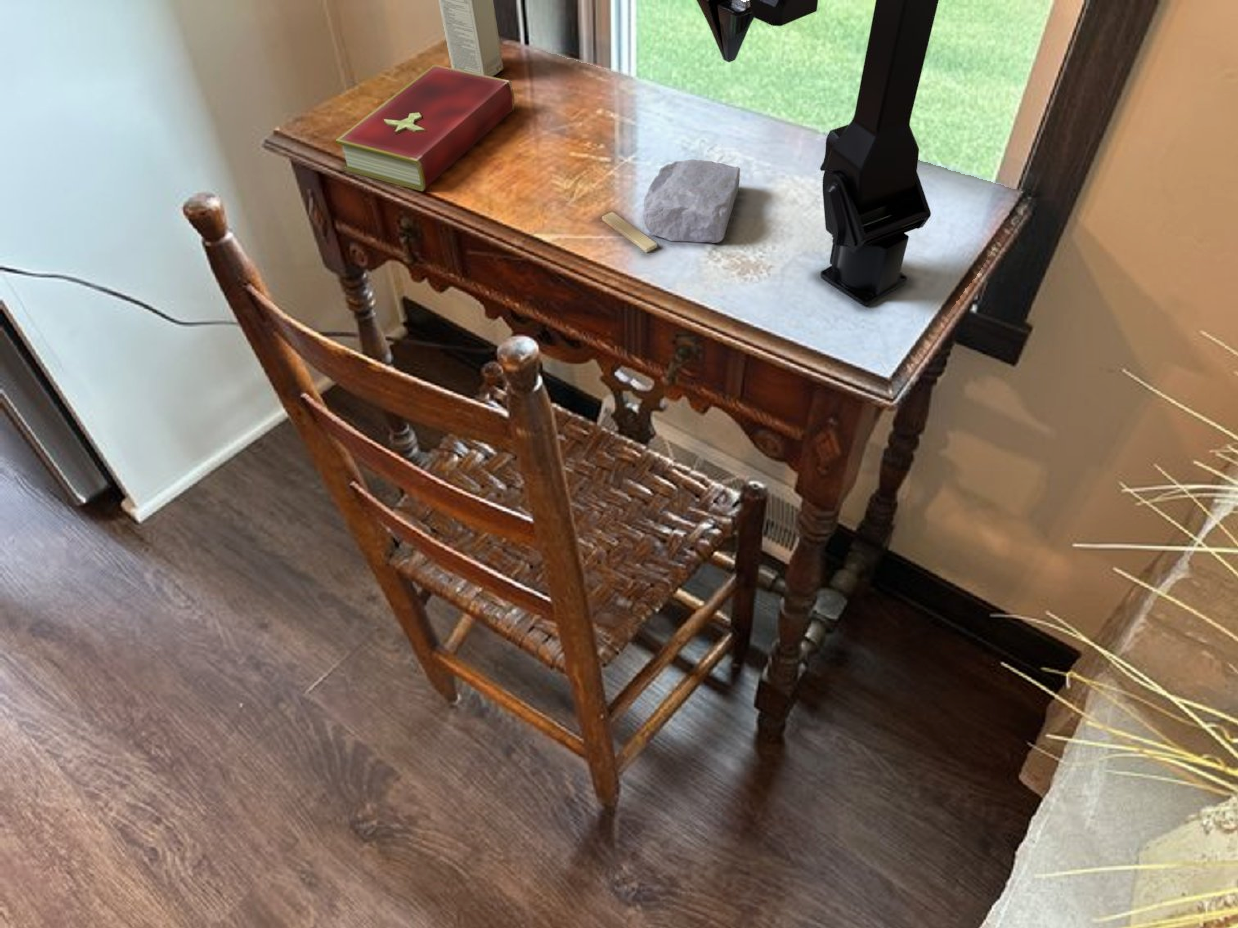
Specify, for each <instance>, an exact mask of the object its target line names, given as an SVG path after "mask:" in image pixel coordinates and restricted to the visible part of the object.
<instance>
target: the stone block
mask: <svg viewBox="0 0 1238 928" xmlns="http://www.w3.org/2000/svg"><path fill="white" fill-rule="evenodd" d="M740 177H741V168H740V167H739V166H732V165H729V164H725V163H721V162H715V161H711V160H703V159H694V158H691V159H686V160H679V161H678V160H677V161H674V162H672V163H669V164H665V165H664V166H663V167H661V168H659V170H658V175H656V177H654V179H652V182H651V184H650V185H649V187H648V190H647V193H646V194H645V196H644V198H643V211H642V212H643V221H644V225H645V227H646V230H648V231H649V234H651V235H652V236H655V237H659V238H662V239H664V240H667V241H670V242H693V243H694V242H695V243H711V244H712V243H713V244H717V243H720V242H722V241H723V239H724V238H725V234H726V231H727V228H728V224H729V222H730V221H729V220H730V218H731V215H732V211H733V207H734V206H735V205H734V204H735V200H736V199H737V194H738V191H739V187H740Z"/></svg>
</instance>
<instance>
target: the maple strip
mask: <svg viewBox="0 0 1238 928" xmlns="http://www.w3.org/2000/svg"><path fill="white" fill-rule="evenodd" d="M601 219H602V221H603V222H604V223H606V224H607V225H608V226H610V227H611V228H612V229H614V230H615V231H616V232H618V233H619V234H620V235H622V236H623V237H625V238H626V240H627V239H628V241H630V242H631V243H633V244H634V245H636V246H637V247H638V248H640V249H641V250H643V252H645V253H649V252H651V251H653V250H655V249H658V243H657V242H655V241H654V240H653V239H651V238H650V237H648V236H647V235H645V234H644V232H642V231H640V230H639V229H637V228H636V227H635V226H634V225H631V223H629V222H627V220H626V219H623V218H622V217H621V216H619V215H618V214H616V213H615V212H614V211H611V212H609V213H607V214H604V215H603V216H601Z"/></svg>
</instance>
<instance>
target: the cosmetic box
mask: <svg viewBox="0 0 1238 928" xmlns="http://www.w3.org/2000/svg"><path fill="white" fill-rule="evenodd" d="M438 5H439V10H440V11H439V12H440V16H441V20H442V25H443V29H444V35H445V41H446V45H447V52H448V56H449V62H450V66H451V67H450V68H454V69H458V70H463V71H467V72H472V73H477V74H481V75H486V76H490V77H495V76H496V75H497V74H498V73H499V72H501V71H502V70H504V63H503V58H502V49H501V44H500V36H499V30H498V29H499V28H498V26H497V25H498V23H497V16H496V10H495V4H494V0H438Z"/></svg>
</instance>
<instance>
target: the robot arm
mask: <svg viewBox="0 0 1238 928" xmlns="http://www.w3.org/2000/svg"><path fill="white" fill-rule="evenodd" d="M939 1H940V0H875V3H874V9H873V13H872V20H871V25H870V30H869V36H868V41H867V46H866V52H865V57H864V62H863V68H862V72H861V78H860V84H859V87H858V94H857V101H856V104H855V110H854V114H853V118H852V119H851V121H850V122H849V123H848V124H846V125H843V126H840V127H836V128H833V129H831V130H829V132H828V134H827V137H826V139H825V152H824V157H823V162H822V163H821V166H820V167H819V170H820V171H821V172H823V175H822V200H823V213H824V226H825V227H824V228H825V230H826V232H827V233H829V234H830V235H831V237H832V245H831V250H830V257H829V264H830V266H828V267H827V268H825V269H822V271H820V273H819V274H820V275H819V276H820V277H819V278H821V279H822V280H823V281H824V282H826V283H828V284H830V285H831V286H832V287H835V289H837V290H838V291H840V292H842V293H843V294H845V295H846V296H847V297H850V298H851V299H852V300H854V301H856V302H857V303H859V304H860V305H861V306H870V305H871V304H873V303H875V302H876V301H878V300H879V299H881V298H883V297H885V296H886V295H888V294H890V293H891V292H893V291H894V290H896V289H898V288H900V287H901V286H903V285H905V284H906V283H907V282H908V276H907V275H906V274H904V273H903V272H901V271H902V267H903V262H904V258H905V253H906V250H907V246H908V242H909V238H910V236H909V235H908V234H907V233H908V232H911V231H914V230H916V229H917V230H918V229H922V228H924V226H925V225H926V223H927V222H928V221H929V219H930V218H931V215H932V212H931V209H930V206H929V203H928V201H927V197H926V194H925V191H924V188H923V186H922V182H921V179H920V177H919V173H918V163H919V156H920V155H919V154H920V148H919V145H918V142H917V140H916V138H915V135H914V133H913V130H912V128H911V118H912V114H913V110H914V105H915V101H916V97H917V93H918V90H919V89H918V88H919V84H920V81H921V77H922V72H923V68H924V63H925V59H926V57H927V56H926V55H927V52H928V51H927V50H928V48H929V47H928V46H929V44H930V40H931V39H930V38H931V34H932V30H933V26H934V22H935V19H936V18H935V17H936V14H937V9H938V4H939ZM696 2H697V4H698V6H699V9H700V10H701V12H702V14H703V16H704V18H705V20H706V22H707V24H708V26H709V29H710V31H711V33H712V35H713V38H714V41H715V42H716V46H717V47H718V50H719V52H720V54H721V57H722V60H724V61H726V62H727V63H731V62H734V61H736V59H737V57H738V55H739V52H740V50H741V47H742V46H743V42H744V40H745V38H746V36H747V33H748V32H749V29H750V27H751V25H752V23H753V21H754V19H757V20H759V21H761V22H763V23H764V24H768V25H770V26H772V27H782V26H785V25H788V24H789V23H792V22H794V21H797V20H799V19H801V18H804V17H806V16H808V15H811V14H814V13H816V12H817V11H818V5H819V0H696Z"/></svg>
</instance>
